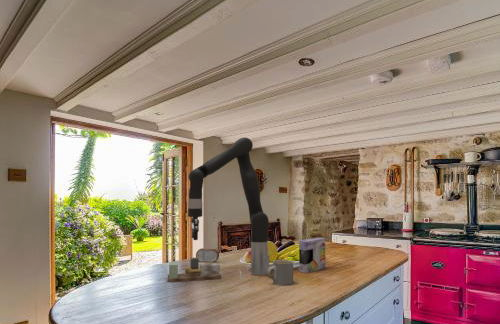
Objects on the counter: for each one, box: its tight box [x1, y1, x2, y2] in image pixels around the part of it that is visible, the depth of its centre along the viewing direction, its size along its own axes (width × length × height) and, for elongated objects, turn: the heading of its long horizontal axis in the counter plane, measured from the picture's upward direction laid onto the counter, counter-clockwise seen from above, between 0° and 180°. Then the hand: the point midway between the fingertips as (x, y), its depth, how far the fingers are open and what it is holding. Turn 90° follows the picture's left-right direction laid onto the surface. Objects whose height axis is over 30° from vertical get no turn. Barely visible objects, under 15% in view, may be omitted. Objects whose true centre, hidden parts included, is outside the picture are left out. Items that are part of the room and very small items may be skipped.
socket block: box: [168, 261, 179, 279], centre depth 173 cm, size 4×8×6 cm, turn 14°
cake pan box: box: [298, 236, 326, 274], centre depth 194 cm, size 19×5×18 cm, turn 129°
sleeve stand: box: [167, 262, 222, 283], centre depth 176 cm, size 26×10×6 cm, turn 104°
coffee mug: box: [266, 259, 294, 286], centre depth 167 cm, size 13×10×10 cm
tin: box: [195, 247, 220, 263], centre depth 219 cm, size 15×3×8 cm, turn 84°
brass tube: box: [184, 257, 201, 274], centre depth 177 cm, size 17×4×8 cm, turn 104°
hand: (194, 239), depth 177 cm, fingers open, 8 cm apart
